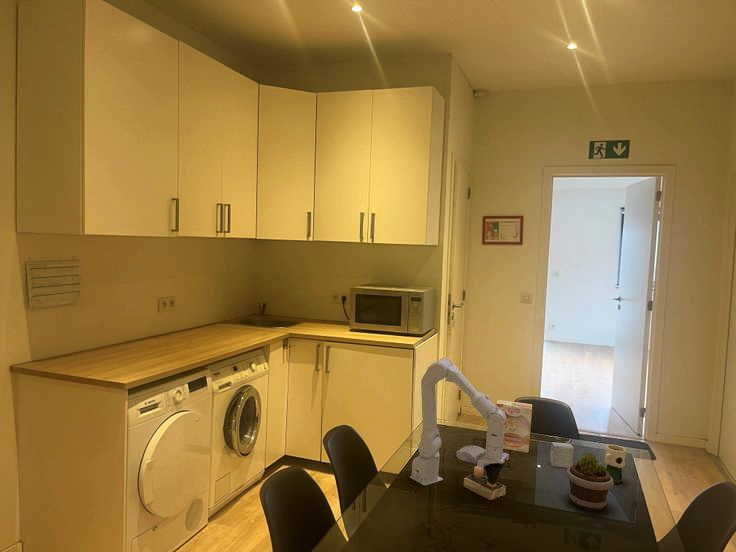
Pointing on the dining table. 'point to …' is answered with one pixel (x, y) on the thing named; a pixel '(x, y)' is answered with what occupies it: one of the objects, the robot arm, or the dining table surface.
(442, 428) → the dining table surface
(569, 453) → the medicine box
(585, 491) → the flowerpot
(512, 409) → the coffeecake box
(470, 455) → the stone block
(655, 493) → the dining table surface
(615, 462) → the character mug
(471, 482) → the socket block
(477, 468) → the peg
